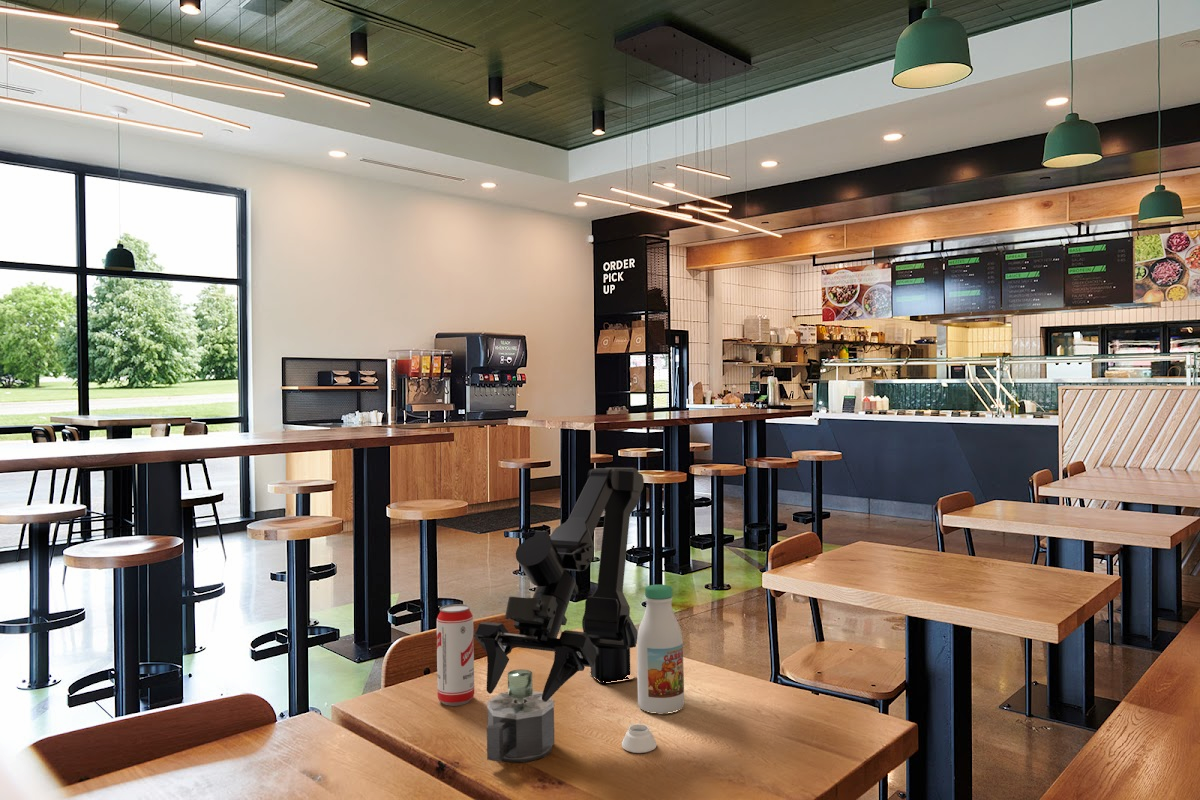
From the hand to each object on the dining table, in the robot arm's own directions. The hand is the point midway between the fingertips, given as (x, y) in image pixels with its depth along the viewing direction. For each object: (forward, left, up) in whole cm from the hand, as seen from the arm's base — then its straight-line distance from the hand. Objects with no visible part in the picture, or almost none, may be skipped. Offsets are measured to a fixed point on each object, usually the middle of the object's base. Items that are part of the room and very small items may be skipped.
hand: (515, 696), depth 116 cm
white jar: (-17, +5, -9) cm, 20 cm away
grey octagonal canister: (0, 0, -8) cm, 8 cm away
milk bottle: (-27, -8, -8) cm, 29 cm away
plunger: (-1, -1, -7) cm, 7 cm away
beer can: (+4, -25, -8) cm, 27 cm away
